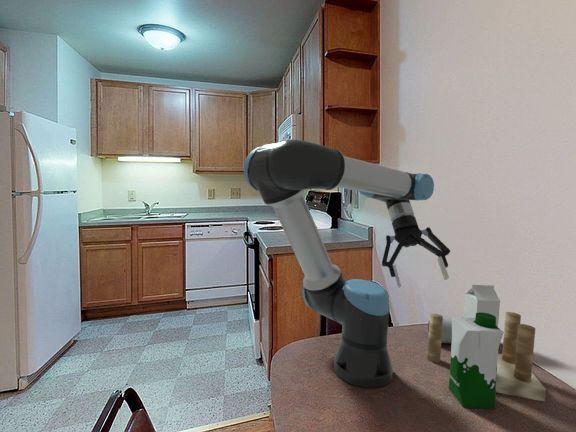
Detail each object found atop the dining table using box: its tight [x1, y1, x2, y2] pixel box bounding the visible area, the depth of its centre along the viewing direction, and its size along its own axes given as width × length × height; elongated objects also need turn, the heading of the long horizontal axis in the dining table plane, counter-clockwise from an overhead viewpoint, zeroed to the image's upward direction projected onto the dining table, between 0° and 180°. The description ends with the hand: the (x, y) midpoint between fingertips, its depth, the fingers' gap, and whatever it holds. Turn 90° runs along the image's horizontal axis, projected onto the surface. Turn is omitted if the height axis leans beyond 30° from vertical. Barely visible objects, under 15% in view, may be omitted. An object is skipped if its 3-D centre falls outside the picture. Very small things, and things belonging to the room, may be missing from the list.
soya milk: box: [448, 313, 504, 410], centre depth 74 cm, size 9×9×20 cm
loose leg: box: [426, 313, 444, 364], centre depth 91 cm, size 3×3×13 cm
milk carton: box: [463, 284, 501, 328], centre depth 104 cm, size 7×7×19 cm
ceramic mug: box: [427, 318, 452, 345], centre depth 105 cm, size 11×8×8 cm
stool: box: [496, 311, 547, 402], centre depth 83 cm, size 16×16×16 cm
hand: (422, 283), depth 94 cm, fingers open, 13 cm apart
